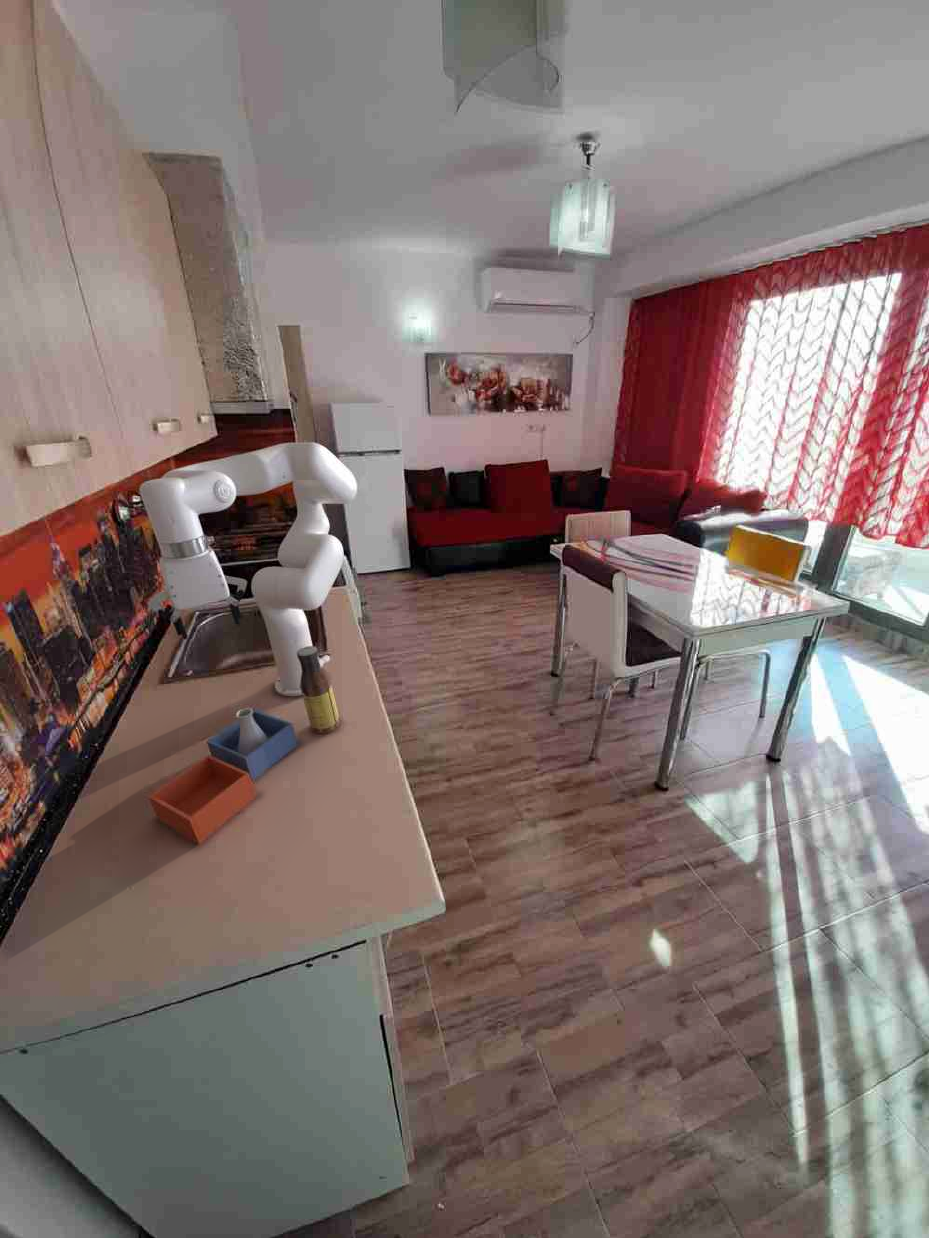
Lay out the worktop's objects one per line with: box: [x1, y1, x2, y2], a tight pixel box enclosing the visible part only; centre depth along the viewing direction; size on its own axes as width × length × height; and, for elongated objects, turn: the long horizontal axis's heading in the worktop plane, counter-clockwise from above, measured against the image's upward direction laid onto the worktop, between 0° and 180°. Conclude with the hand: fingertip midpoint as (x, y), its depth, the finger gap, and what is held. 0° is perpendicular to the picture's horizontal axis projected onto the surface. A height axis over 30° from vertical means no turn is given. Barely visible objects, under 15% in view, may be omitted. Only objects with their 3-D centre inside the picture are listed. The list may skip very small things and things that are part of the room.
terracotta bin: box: [147, 754, 257, 845], centre depth 85 cm, size 12×12×6 cm
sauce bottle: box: [297, 645, 340, 734], centre depth 102 cm, size 6×6×20 cm
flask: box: [235, 707, 269, 756], centre depth 97 cm, size 7×7×10 cm
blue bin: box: [206, 709, 299, 782], centre depth 98 cm, size 12×12×6 cm
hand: (211, 629), depth 95 cm, fingers open, 9 cm apart
